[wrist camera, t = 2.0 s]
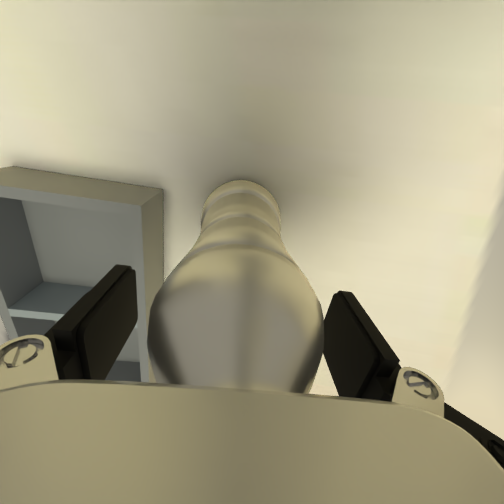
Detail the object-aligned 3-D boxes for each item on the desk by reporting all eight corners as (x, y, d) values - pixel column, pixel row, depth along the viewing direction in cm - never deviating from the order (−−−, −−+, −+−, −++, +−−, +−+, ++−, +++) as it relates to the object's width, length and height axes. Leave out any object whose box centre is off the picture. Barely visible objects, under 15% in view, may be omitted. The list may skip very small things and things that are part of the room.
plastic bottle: (209, 246, 23) (99, 618, 6) (202, 174, 20) (-95, 494, 3) (275, 244, 24) (372, 603, 6) (278, 173, 20) (504, 468, 3)
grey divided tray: (12, 166, 20) (-55, 177, 15) (163, 189, 21) (141, 205, 16) (63, 353, 29) (31, 392, 25) (163, 361, 31) (150, 401, 26)
